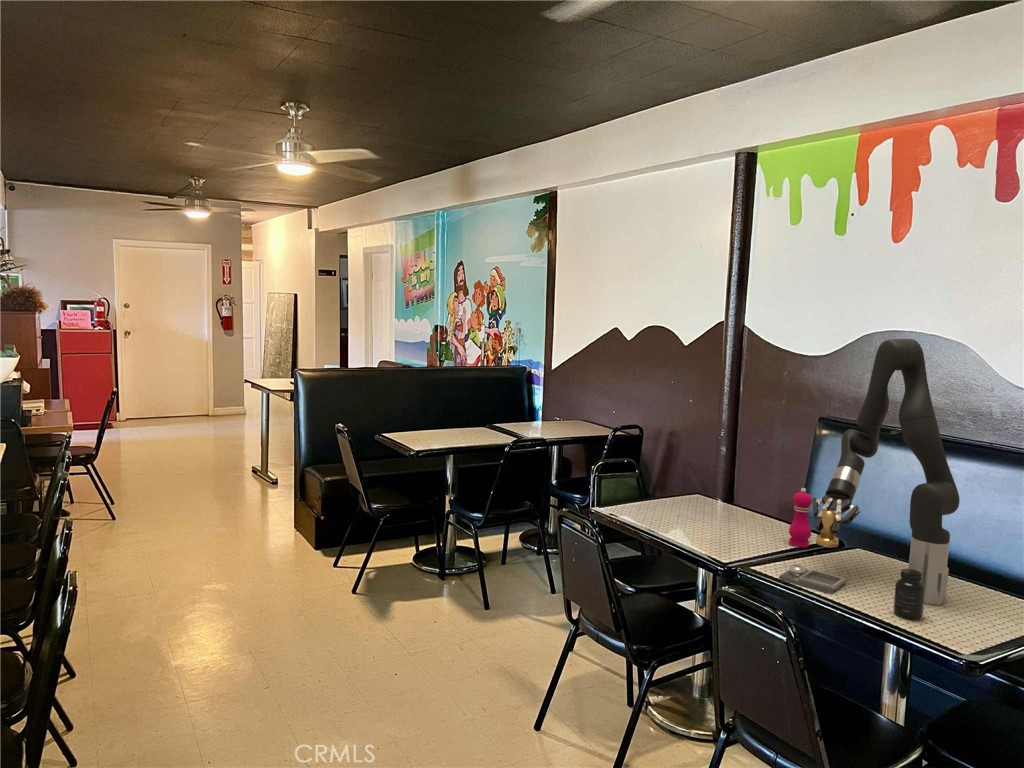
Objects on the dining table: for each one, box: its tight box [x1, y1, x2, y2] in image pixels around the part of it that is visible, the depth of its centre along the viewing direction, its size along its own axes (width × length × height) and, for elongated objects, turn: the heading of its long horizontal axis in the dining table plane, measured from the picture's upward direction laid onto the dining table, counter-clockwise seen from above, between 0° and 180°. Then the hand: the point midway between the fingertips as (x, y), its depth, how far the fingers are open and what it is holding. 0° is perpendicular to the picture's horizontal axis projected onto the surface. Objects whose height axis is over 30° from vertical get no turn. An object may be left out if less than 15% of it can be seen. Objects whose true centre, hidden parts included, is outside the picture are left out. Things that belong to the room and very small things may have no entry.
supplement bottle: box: [893, 568, 925, 621], centre depth 190 cm, size 7×7×12 cm
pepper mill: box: [788, 487, 813, 548], centre depth 248 cm, size 7×7×20 cm
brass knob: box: [815, 509, 839, 548], centre depth 212 cm, size 6×6×10 cm
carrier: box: [778, 564, 847, 595], centre depth 213 cm, size 15×12×3 cm
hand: (825, 531), depth 210 cm, fingers closed on brass knob, 3 cm apart
